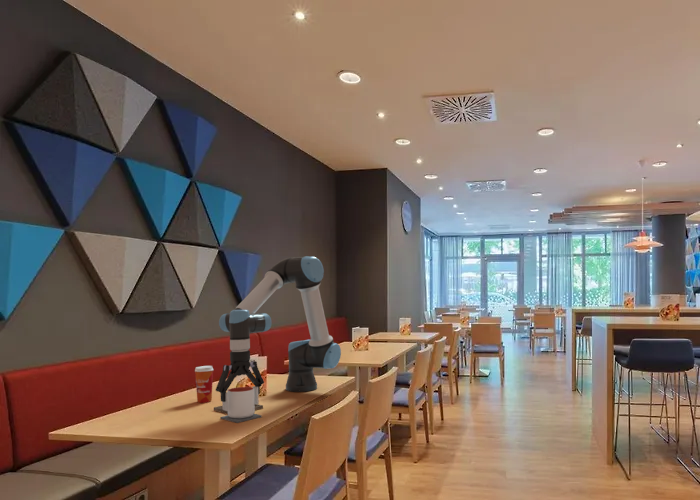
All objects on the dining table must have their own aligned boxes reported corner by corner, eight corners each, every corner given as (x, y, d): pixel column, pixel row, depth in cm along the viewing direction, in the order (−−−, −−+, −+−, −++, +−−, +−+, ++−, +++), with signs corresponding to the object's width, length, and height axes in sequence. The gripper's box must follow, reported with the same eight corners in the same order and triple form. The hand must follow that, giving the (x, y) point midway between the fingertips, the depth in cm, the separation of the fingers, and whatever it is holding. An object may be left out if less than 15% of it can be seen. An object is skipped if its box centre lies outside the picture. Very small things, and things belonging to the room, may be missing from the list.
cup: (248, 419, 193) (248, 391, 194) (223, 419, 195) (222, 391, 196) (258, 413, 203) (258, 386, 204) (234, 412, 205) (233, 386, 206)
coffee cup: (190, 403, 229) (190, 368, 230) (202, 399, 237) (201, 365, 238) (207, 403, 226) (207, 368, 227) (218, 399, 234) (217, 365, 235)
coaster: (244, 412, 207) (244, 411, 207) (261, 417, 199) (261, 415, 199) (220, 418, 199) (220, 416, 199) (237, 423, 191) (237, 421, 191)
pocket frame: (242, 404, 224) (242, 401, 224) (262, 408, 214) (262, 405, 214) (213, 410, 213) (213, 407, 213) (233, 415, 204) (233, 412, 204)
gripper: (260, 346, 213) (261, 399, 211) (205, 353, 195) (206, 411, 193) (272, 347, 207) (273, 402, 206) (216, 354, 190) (217, 414, 188)
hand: (240, 407), depth 199 cm, fingers open, 13 cm apart
